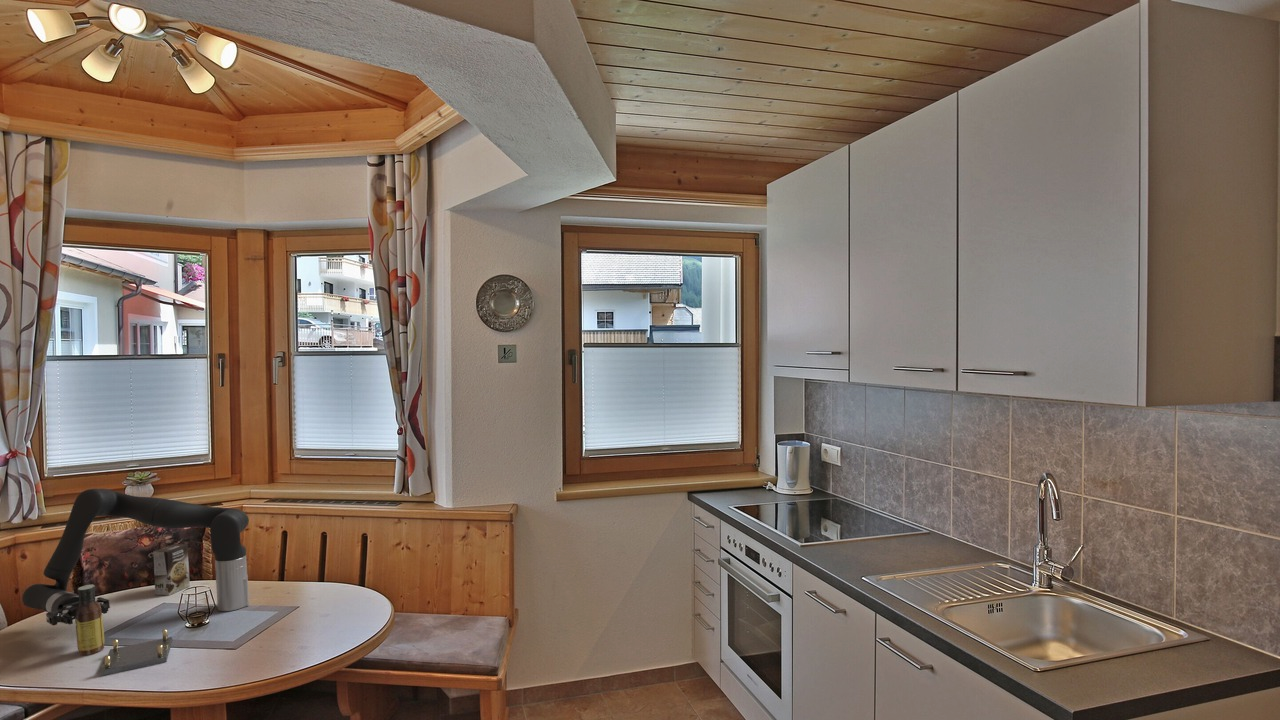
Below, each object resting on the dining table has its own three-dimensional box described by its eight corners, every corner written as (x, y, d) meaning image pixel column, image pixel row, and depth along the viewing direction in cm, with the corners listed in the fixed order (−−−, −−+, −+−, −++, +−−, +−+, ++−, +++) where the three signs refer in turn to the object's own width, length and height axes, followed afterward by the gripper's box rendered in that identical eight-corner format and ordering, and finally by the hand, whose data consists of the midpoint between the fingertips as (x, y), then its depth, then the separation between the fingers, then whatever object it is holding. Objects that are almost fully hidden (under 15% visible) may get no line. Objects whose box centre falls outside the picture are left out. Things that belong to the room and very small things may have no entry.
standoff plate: (172, 641, 207) (171, 627, 207) (166, 661, 194) (165, 646, 194) (110, 654, 200) (109, 639, 200) (100, 676, 187) (99, 660, 186)
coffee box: (169, 595, 245) (166, 551, 244) (154, 594, 246) (152, 551, 245) (190, 586, 254) (188, 544, 253) (176, 585, 255) (174, 543, 254)
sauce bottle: (88, 647, 205) (84, 582, 204) (110, 645, 205) (106, 581, 204) (71, 657, 198) (67, 591, 197) (94, 656, 199) (90, 589, 198)
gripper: (35, 601, 204) (58, 611, 195) (92, 585, 216) (116, 594, 207) (37, 626, 204) (60, 637, 196) (94, 608, 216) (117, 618, 208)
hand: (88, 615), depth 202 cm, fingers open, 8 cm apart
